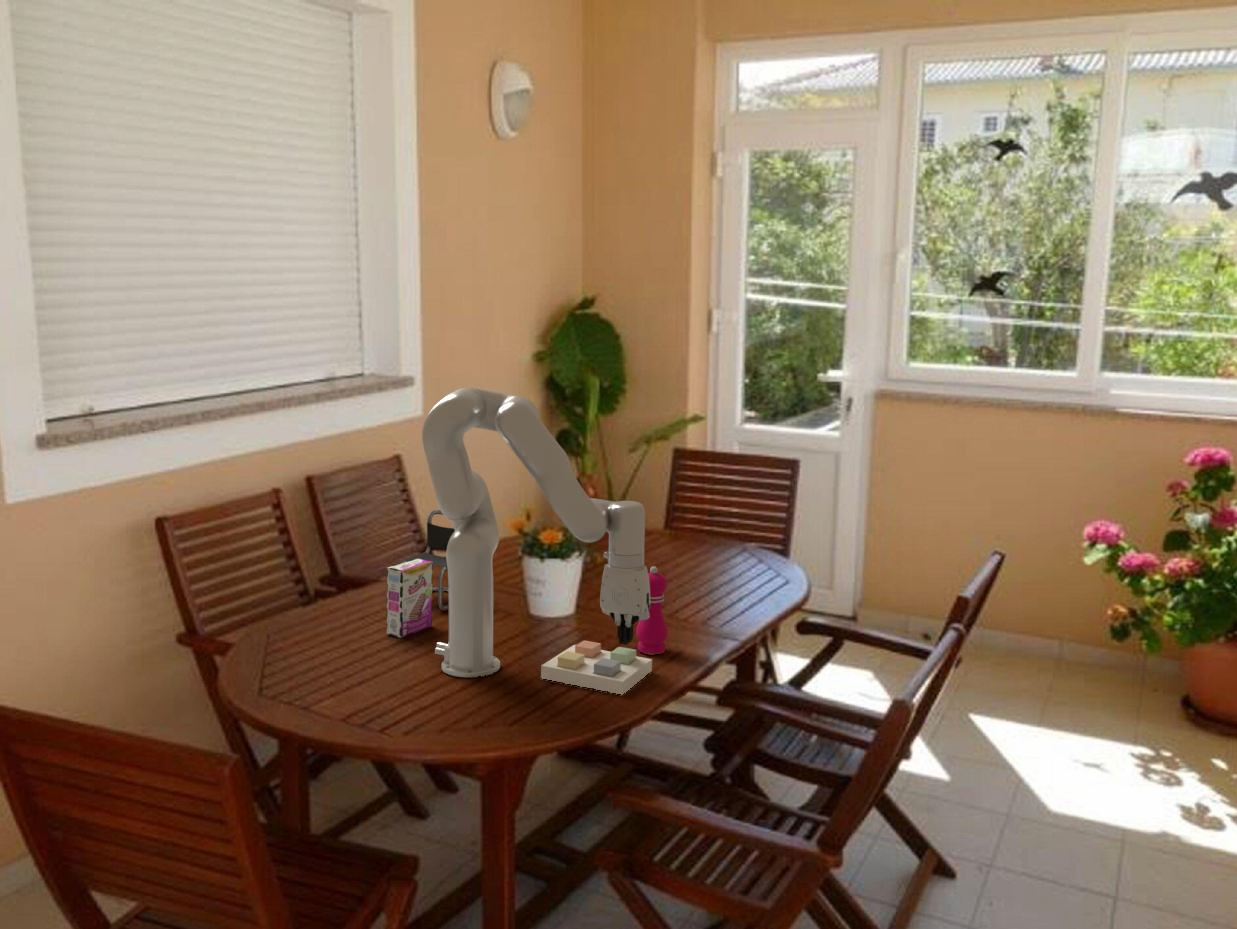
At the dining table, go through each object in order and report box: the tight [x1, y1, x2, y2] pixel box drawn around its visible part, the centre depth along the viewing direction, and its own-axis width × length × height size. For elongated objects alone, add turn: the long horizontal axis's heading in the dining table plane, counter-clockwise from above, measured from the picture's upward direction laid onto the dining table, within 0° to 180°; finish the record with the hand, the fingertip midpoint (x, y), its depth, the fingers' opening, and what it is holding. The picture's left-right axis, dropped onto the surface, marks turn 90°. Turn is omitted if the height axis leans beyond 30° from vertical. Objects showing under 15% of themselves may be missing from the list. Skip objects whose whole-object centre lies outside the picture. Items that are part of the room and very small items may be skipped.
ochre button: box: [558, 651, 585, 670], centre depth 229 cm, size 4×4×2 cm
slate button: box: [594, 658, 621, 677], centre depth 225 cm, size 4×4×2 cm
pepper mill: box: [635, 566, 669, 653], centre depth 246 cm, size 7×7×20 cm
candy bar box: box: [386, 559, 434, 639], centre depth 256 cm, size 11×5×16 cm, turn 149°
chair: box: [400, 509, 455, 612], centre depth 280 cm, size 13×17×22 cm
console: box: [540, 644, 653, 696], centre depth 231 cm, size 19×15×3 cm
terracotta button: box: [575, 640, 602, 659], centre depth 236 cm, size 4×4×2 cm
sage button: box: [610, 646, 637, 665], centre depth 233 cm, size 4×4×2 cm
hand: (625, 642), depth 232 cm, fingers closed
